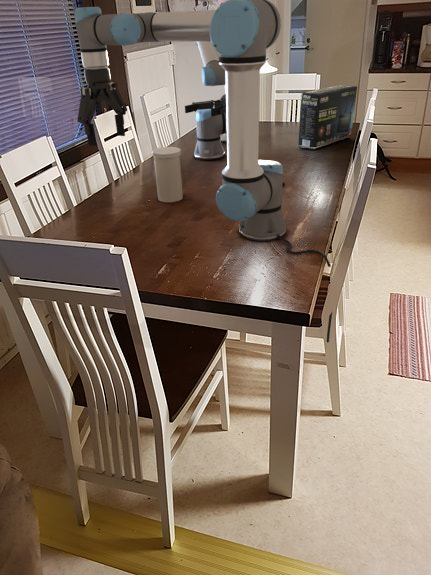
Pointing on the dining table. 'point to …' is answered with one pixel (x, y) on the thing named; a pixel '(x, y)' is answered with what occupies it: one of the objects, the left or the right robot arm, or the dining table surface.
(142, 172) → the dining table surface
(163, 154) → the lid
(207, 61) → the left robot arm
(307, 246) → the dining table surface
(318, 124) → the router box
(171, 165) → the jar
